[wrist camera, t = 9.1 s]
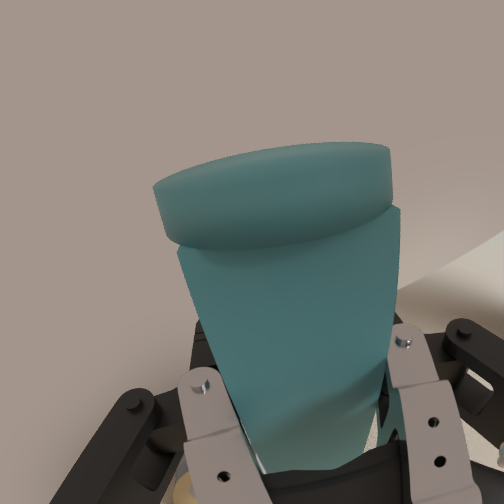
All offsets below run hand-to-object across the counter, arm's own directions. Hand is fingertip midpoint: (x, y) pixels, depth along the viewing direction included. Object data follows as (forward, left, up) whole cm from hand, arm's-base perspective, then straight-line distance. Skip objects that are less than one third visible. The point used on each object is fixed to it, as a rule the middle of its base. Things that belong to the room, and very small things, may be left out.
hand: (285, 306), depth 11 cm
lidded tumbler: (0, +3, -8) cm, 8 cm away
